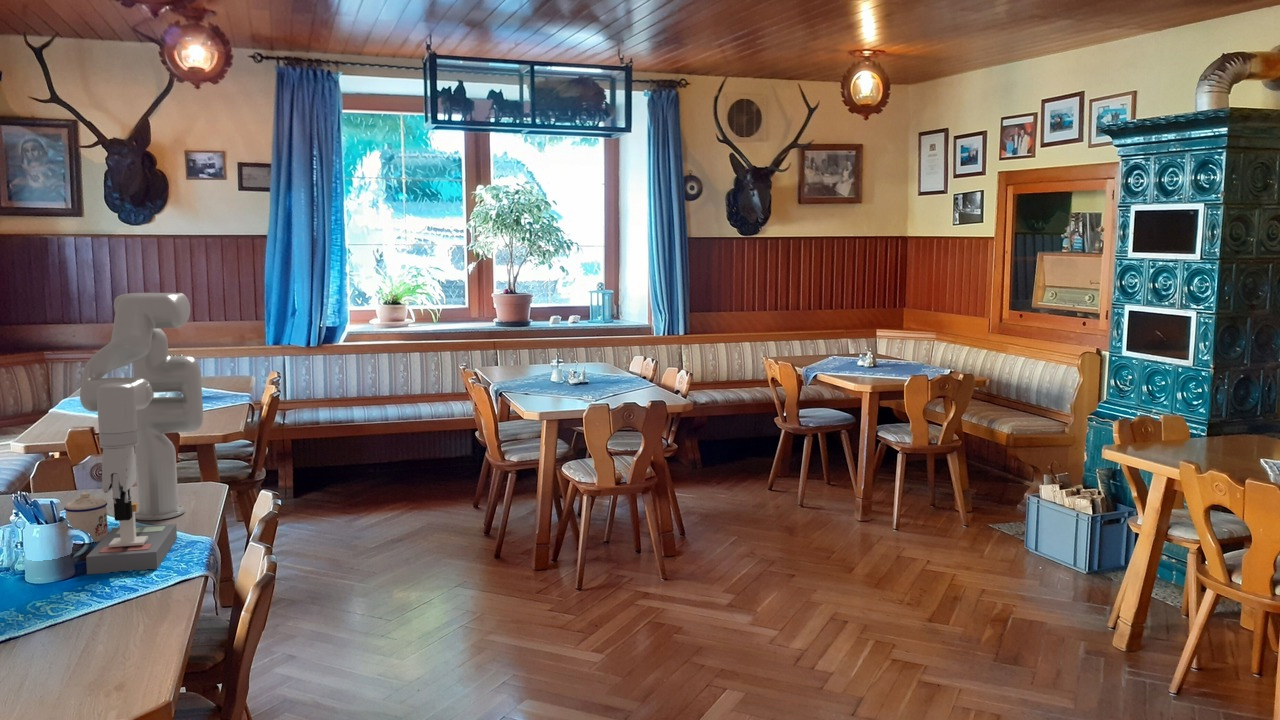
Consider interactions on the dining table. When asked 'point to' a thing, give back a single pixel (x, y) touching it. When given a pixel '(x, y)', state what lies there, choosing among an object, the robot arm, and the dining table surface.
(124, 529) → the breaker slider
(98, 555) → the switch box
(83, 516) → the teacup with lid
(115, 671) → the dining table surface
